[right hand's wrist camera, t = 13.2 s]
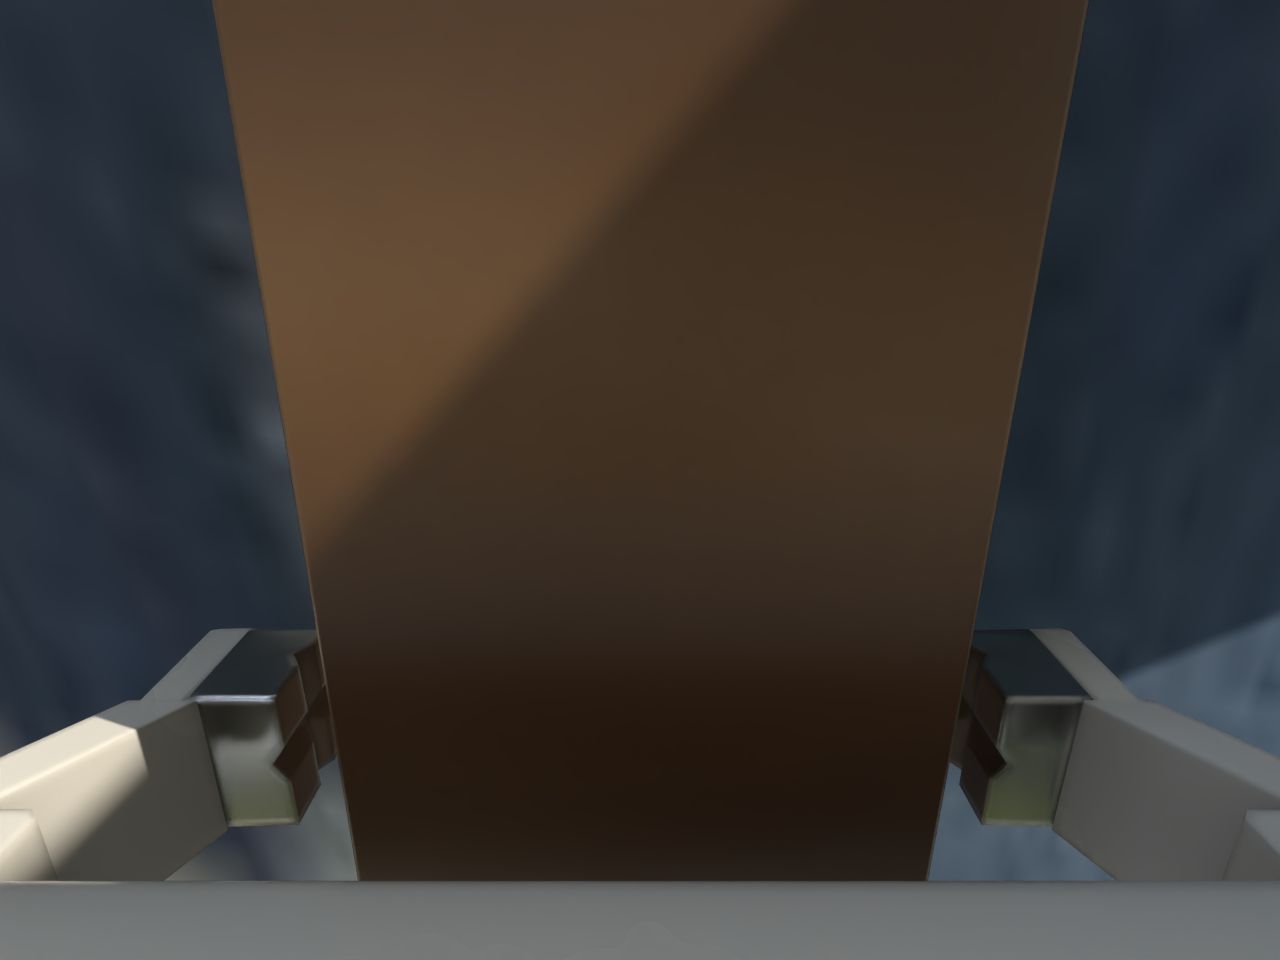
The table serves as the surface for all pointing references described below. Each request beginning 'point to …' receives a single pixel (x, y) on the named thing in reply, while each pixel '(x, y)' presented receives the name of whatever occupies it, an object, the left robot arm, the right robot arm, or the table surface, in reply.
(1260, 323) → the table surface
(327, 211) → the bar
